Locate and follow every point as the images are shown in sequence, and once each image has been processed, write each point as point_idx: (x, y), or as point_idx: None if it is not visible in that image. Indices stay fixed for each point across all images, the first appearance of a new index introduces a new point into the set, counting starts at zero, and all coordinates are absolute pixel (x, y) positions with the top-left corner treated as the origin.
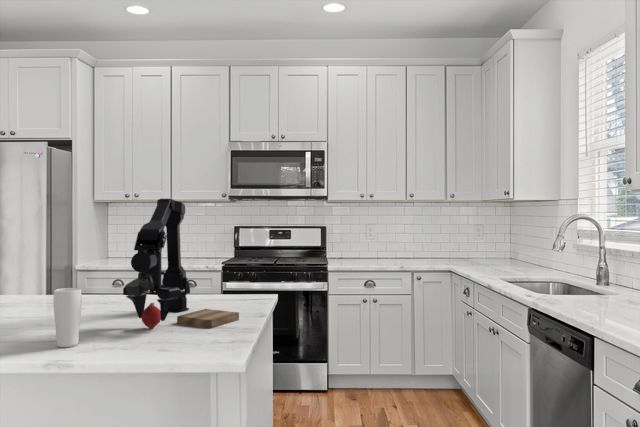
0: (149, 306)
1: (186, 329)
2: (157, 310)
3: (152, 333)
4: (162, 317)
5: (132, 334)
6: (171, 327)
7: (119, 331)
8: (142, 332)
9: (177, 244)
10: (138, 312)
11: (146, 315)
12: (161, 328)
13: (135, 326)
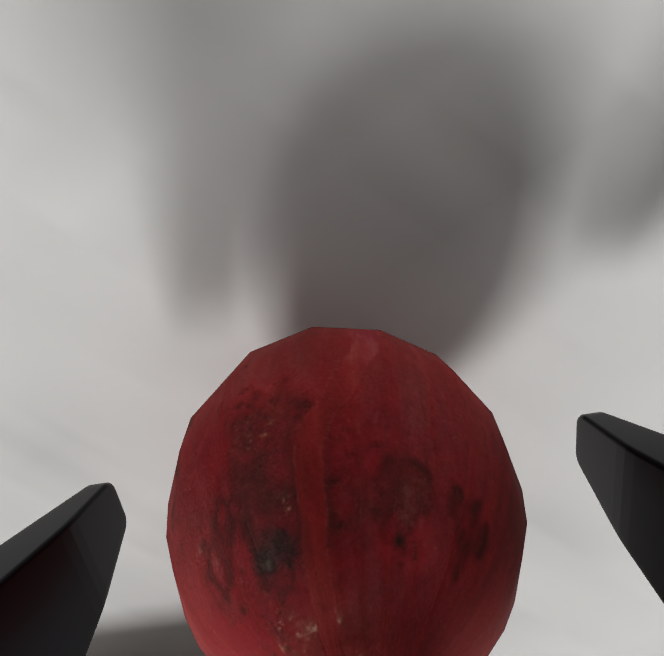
0: (333, 643)
1: None
2: (194, 634)
3: (95, 253)
4: (37, 521)
5: (249, 33)
6: None
7: (587, 31)
8: (250, 207)
9: None
10: (656, 456)
11: (271, 391)
12: None
13: (619, 357)
